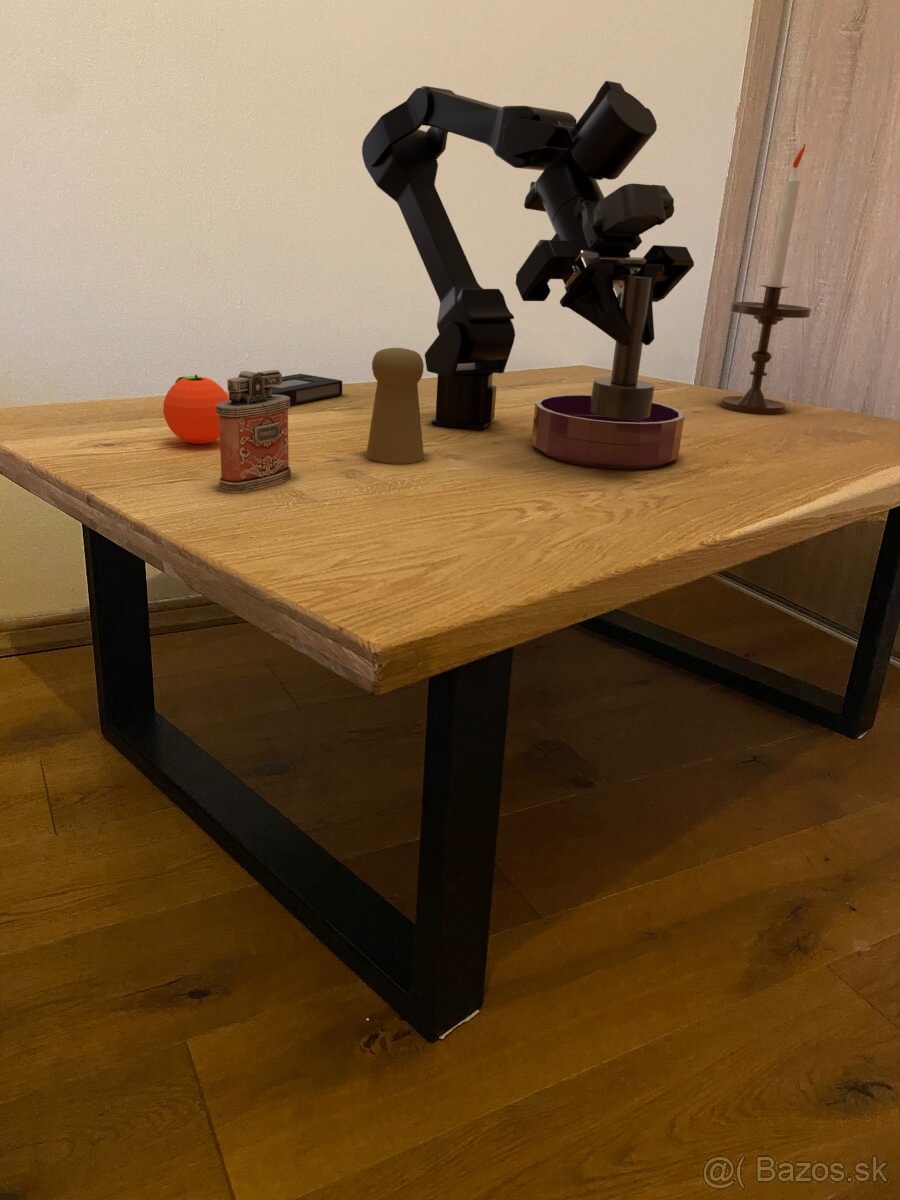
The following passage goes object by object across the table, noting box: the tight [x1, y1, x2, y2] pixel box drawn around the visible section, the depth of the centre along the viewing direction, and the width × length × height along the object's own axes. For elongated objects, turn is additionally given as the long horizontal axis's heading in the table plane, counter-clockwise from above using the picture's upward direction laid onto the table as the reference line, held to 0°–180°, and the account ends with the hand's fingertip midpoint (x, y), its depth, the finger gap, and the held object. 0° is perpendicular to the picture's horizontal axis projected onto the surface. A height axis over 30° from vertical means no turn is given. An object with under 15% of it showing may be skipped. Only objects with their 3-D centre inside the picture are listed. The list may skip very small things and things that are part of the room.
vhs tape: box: [228, 373, 343, 406], centre depth 123 cm, size 8×14×2 cm, turn 149°
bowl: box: [531, 393, 685, 470], centre depth 103 cm, size 16×16×5 cm
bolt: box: [590, 275, 655, 419], centre depth 90 cm, size 6×6×13 cm
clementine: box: [162, 374, 229, 445], centre depth 97 cm, size 8×7×7 cm
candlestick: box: [720, 143, 812, 415], centre depth 129 cm, size 11×11×35 cm
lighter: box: [216, 369, 292, 494], centre depth 83 cm, size 8×3×10 cm, turn 148°
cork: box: [366, 347, 425, 465], centre depth 95 cm, size 6×6×11 cm
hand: (638, 342), depth 89 cm, fingers closed on bolt, 2 cm apart
